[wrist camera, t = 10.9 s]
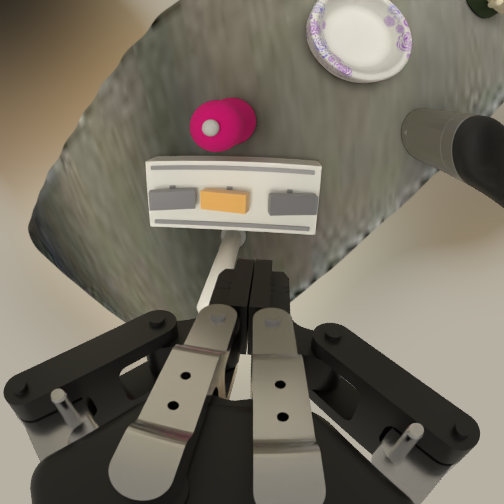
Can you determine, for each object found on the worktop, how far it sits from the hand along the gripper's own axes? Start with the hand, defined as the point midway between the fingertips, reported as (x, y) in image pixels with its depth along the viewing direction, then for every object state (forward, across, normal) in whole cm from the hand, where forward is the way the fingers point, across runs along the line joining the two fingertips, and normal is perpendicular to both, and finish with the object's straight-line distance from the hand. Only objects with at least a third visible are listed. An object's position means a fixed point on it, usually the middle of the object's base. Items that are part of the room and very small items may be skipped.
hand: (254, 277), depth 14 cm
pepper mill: (+39, +6, -5) cm, 40 cm away
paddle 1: (+33, +15, +6) cm, 36 cm away
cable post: (+39, +6, +15) cm, 42 cm away
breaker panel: (+39, +6, +6) cm, 40 cm away
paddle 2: (+33, -3, +6) cm, 34 cm away
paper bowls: (+39, -12, -20) cm, 46 cm away
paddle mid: (+33, +6, +7) cm, 34 cm away
